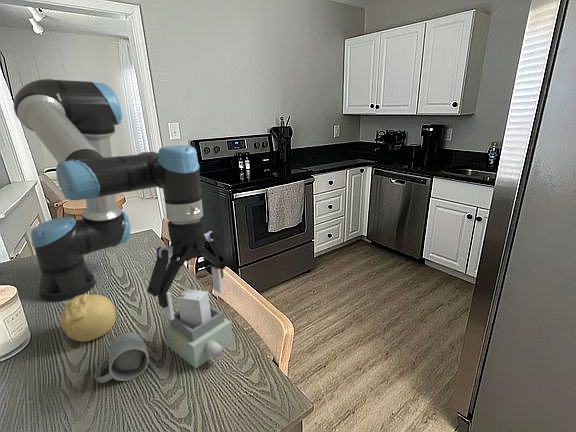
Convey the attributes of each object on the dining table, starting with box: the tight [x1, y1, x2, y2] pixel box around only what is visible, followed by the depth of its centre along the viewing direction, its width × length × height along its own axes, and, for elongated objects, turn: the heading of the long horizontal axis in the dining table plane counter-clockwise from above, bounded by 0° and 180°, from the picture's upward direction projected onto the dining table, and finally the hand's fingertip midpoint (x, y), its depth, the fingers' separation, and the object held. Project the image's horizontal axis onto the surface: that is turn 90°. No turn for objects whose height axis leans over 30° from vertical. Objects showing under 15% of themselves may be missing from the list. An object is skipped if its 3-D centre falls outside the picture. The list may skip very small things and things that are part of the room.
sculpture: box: [59, 293, 117, 343], centre depth 79 cm, size 12×12×11 cm
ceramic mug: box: [94, 331, 150, 384], centre depth 68 cm, size 11×8×8 cm
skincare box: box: [176, 288, 211, 329], centre depth 74 cm, size 6×4×12 cm
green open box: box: [163, 304, 234, 369], centre depth 75 cm, size 15×11×8 cm
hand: (195, 303), depth 73 cm, fingers open, 13 cm apart
